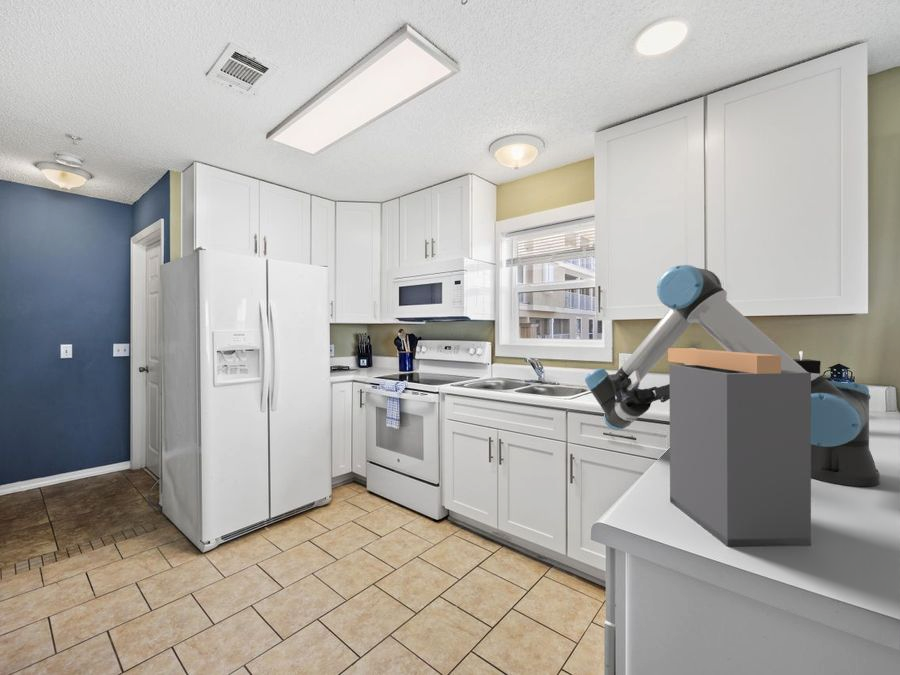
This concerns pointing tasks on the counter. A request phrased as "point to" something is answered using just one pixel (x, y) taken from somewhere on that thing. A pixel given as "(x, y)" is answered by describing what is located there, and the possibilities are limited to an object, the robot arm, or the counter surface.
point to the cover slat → (727, 360)
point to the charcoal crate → (742, 453)
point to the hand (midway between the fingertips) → (665, 374)
